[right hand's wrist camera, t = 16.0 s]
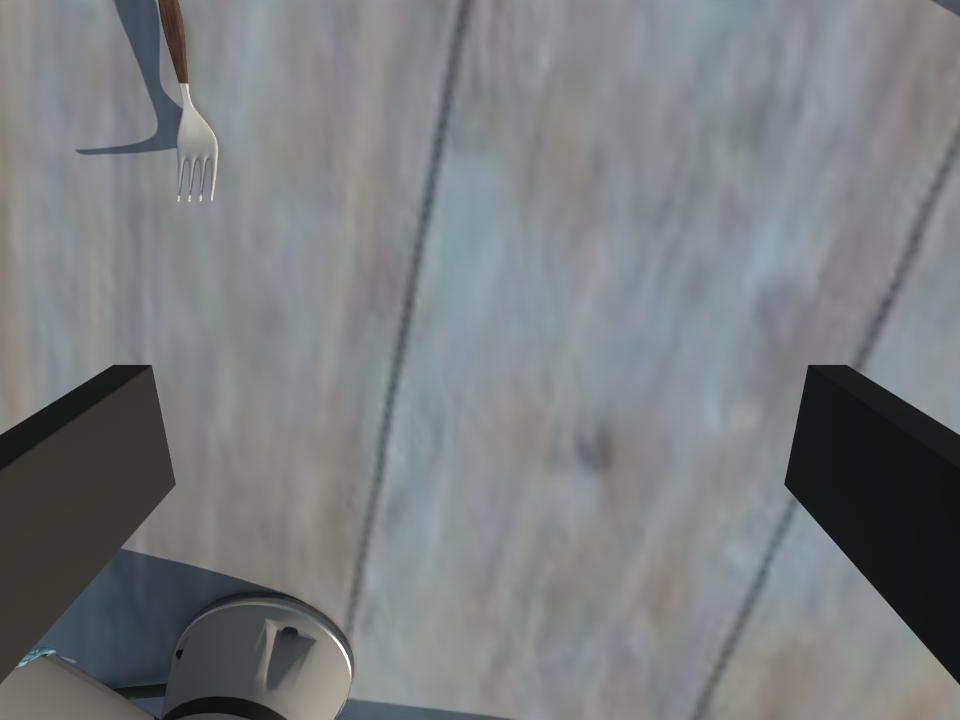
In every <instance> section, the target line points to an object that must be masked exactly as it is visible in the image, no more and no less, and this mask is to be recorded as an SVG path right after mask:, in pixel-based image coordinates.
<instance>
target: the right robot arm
mask: <svg viewBox="0 0 960 720" xmlns="http://www.w3.org/2000/svg"><path fill="white" fill-rule="evenodd" d="M175 485H176V484H175V479H174V474H173V469H172V464H171V459H170V454H169V449H168V444H167V439H166V434H165V429H164V424H163V419H162V414H161V409H160V404H159V399H158V394H157V389H156V384H155V379H154V374H153V370H152V365H113V366H111V367H109V368H108V369H106V370H105V371H103V372H101V373H100V374H98V375H96V376H95V377H93V378H92V379H90V380H88V381H87V382H85V383H84V384H82V385H80V386H79V387H77V388H76V389H74V390H72V391H71V392H69V393H67V394H66V395H64V396H63V397H61V398H59V399H58V400H56V401H55V402H53V403H51V404H50V405H48V406H47V407H45V408H43V409H42V410H40V411H39V412H37V413H35V414H34V415H32V416H30V417H29V418H27V419H26V420H24V421H22V422H21V423H19V424H18V425H16V426H14V427H13V428H11V429H10V430H8V431H6V432H5V433H3V434H1V435H0V720H336V718H337V717H338V715H339V714H340V712H341V711H342V709H343V707H344V704H345V702H346V700H347V698H348V695H349V692H350V688H351V683H352V679H353V674H354V659H353V654H352V651H351V648H350V645H349V643H348V641H347V639H346V638H345V636H344V635H343V633H342V632H341V630H340V629H339V628H338V627H337V626H336V625H335V624H334V623H333V622H332V621H331V620H330V619H329V618H328V617H327V616H325V615H324V614H323V613H321V612H320V611H318V610H317V609H315V608H313V607H312V606H310V605H307V604H305V603H303V602H301V601H298V600H296V599H293V598H289V597H286V596H281V595H276V594H269V593H245V594H238V595H233V596H229V597H226V598H223V599H220V600H218V601H216V602H214V603H212V604H210V605H208V606H207V607H205V608H204V609H202V610H201V611H200V612H199V613H198V614H197V615H196V616H195V617H194V618H193V619H192V620H191V621H190V623H189V624H188V626H187V628H186V629H185V631H184V633H183V634H182V636H181V638H180V639H179V641H178V643H177V646H176V649H175V651H174V654H173V657H172V661H171V666H170V674H169V678H168V683H167V684H157V685H146V686H135V687H126V688H117V689H110V688H109V687H107V686H106V685H104V684H102V683H101V682H99V681H98V680H96V679H94V678H93V677H91V676H90V675H88V674H86V673H85V672H83V671H82V670H80V669H79V668H77V667H75V666H74V665H72V664H71V663H69V662H67V661H66V660H64V659H63V658H61V657H59V656H58V655H56V650H54V649H53V648H49V647H41V646H39V645H37V644H36V643H37V642H38V641H39V640H40V639H41V638H42V637H43V636H44V634H45V633H46V632H47V631H48V630H49V629H50V628H51V626H52V625H53V624H54V623H55V622H56V621H57V620H58V618H59V617H60V616H61V615H62V614H63V613H64V612H65V610H66V609H67V608H68V607H69V606H70V605H71V604H72V602H73V601H74V600H75V599H76V598H77V597H78V596H79V594H80V593H81V592H82V591H83V590H84V589H85V588H86V586H87V585H88V584H89V583H90V582H91V581H92V580H93V578H94V577H95V576H96V575H97V574H98V573H99V572H100V570H101V569H102V568H103V567H104V566H105V565H106V564H107V562H108V561H109V560H110V559H111V558H112V557H113V556H114V554H115V553H116V552H117V551H118V550H119V549H120V548H121V546H122V545H123V544H124V543H125V542H126V541H127V540H128V539H129V537H130V536H131V535H132V534H133V533H134V532H135V531H136V529H137V528H138V527H139V526H140V525H141V524H142V523H143V521H144V520H145V519H146V518H147V517H148V516H149V515H150V513H151V512H152V511H153V510H154V509H155V508H156V507H157V505H158V504H159V503H160V502H161V501H162V500H163V499H164V497H165V496H166V495H167V494H168V493H169V492H170V491H171V489H172V488H173V487H174V486H175ZM784 485H785V486H786V487H787V488H788V489H789V491H790V492H791V493H792V494H793V495H794V496H795V497H796V499H797V500H798V501H799V502H800V503H801V504H802V505H803V507H804V508H805V509H806V510H807V511H808V512H809V513H810V515H811V516H812V517H813V518H814V519H815V520H816V521H817V523H818V524H819V525H820V526H821V527H822V528H823V529H824V531H825V532H826V533H827V534H828V535H829V536H830V537H831V539H832V540H833V541H834V542H835V543H836V544H837V545H838V546H839V548H840V549H841V550H842V551H843V552H844V553H845V554H846V556H847V557H848V558H849V559H850V560H851V561H852V562H853V564H854V565H855V566H856V567H857V568H858V569H859V570H860V572H861V573H862V574H863V575H864V576H865V577H866V578H867V580H868V581H869V582H870V583H871V584H872V585H873V586H874V588H875V589H876V590H877V591H878V592H879V593H880V594H881V596H882V597H883V598H884V599H885V600H886V601H887V602H888V604H889V605H890V606H891V607H892V608H893V609H894V610H895V612H896V613H897V614H898V615H899V616H900V617H901V618H902V620H903V621H904V622H905V623H906V624H907V625H908V626H909V628H910V629H911V630H912V631H913V632H914V633H915V634H916V636H917V637H918V638H919V639H920V640H921V641H922V642H923V643H924V645H925V646H926V647H927V648H928V649H929V650H930V651H931V653H932V654H933V655H934V656H935V657H936V658H937V659H938V661H939V662H940V663H941V664H942V665H943V666H944V667H945V669H946V670H947V671H948V672H949V673H950V674H951V675H952V677H953V678H954V679H955V680H956V681H957V682H958V683H959V685H960V435H959V434H957V433H955V432H954V431H952V430H950V429H949V428H947V427H946V426H944V425H942V424H941V423H939V422H938V421H936V420H934V419H933V418H931V417H930V416H928V415H926V414H925V413H923V412H921V411H920V410H918V409H917V408H915V407H913V406H912V405H910V404H909V403H907V402H905V401H904V400H902V399H901V398H899V397H897V396H896V395H894V394H893V393H891V392H889V391H888V390H886V389H884V388H883V387H881V386H880V385H878V384H876V383H875V382H873V381H872V380H870V379H868V378H867V377H865V376H864V375H862V374H860V373H859V372H857V371H855V370H854V369H852V368H851V367H849V366H847V365H808V370H807V374H806V379H805V384H804V389H803V394H802V399H801V404H800V409H799V414H798V419H797V424H796V429H795V434H794V439H793V444H792V449H791V454H790V459H789V464H788V469H787V474H786V479H785V484H784ZM160 696H165V699H164V705H163V710H162V716H161V719H158V718H157V717H155V716H154V715H152V714H151V713H149V712H147V711H146V710H144V709H142V708H141V707H139V706H137V705H136V704H134V703H132V702H131V701H129V700H128V699H138V698H149V697H160ZM343 720H345V717H344V718H343Z"/></svg>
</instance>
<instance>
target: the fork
mask: <svg viewBox="0 0 960 720" xmlns="http://www.w3.org/2000/svg"><path fill="white" fill-rule="evenodd" d="M158 1H159V9H160V15H161V21H162V25H163V29H164V33H165V37H166V40H167V44H168V47H169V51H170V54H171V57H172V61H173V64H174V68H175V71H176V74H177V78H178V81H179V85H180V88H181V92H182V97H183V112H182V116H181V120H180V124H179V128H178V133H177V157H178V192H177V201H178V202H179V198H180V192H181V185H182V178H183V169H184V163H185V161H186V160H188V162H189V195H188V200H189V201H190V199H191V192H192V185H193V178H194V169H195V163H196V161H197V160H199V162H200V198H199V200H200V201H201V199H202V193H203V186H204V178H205V169H206V163H207V160H210V161H211V198H210V200H211V201H212V200H213V193H214V186H215V179H216V169H217V157H218V144H217V140H216V137H215V135H214V133H213V131H212V130H211V128H210V127H209V126H208V124H207V123H206V122H205V121H204V119H203V118H202V117H201V116H200V115H199V113H198V112H197V111H196V110H195V108H194V106H193V105H192V103H191V100H190V95H189V87H188V74H187V60H186V47H185V36H184V27H183V21H182V16H181V11H180V7H179V4H178V0H158Z"/></svg>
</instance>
